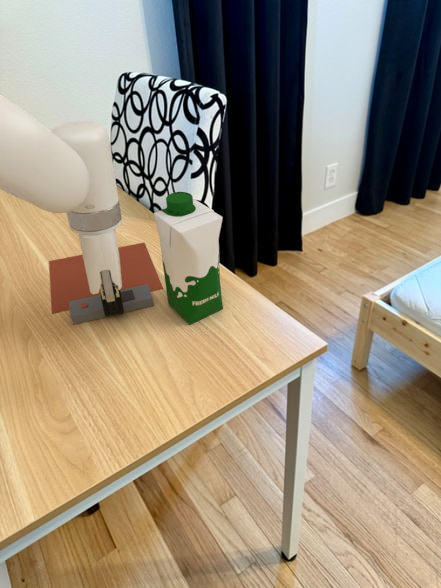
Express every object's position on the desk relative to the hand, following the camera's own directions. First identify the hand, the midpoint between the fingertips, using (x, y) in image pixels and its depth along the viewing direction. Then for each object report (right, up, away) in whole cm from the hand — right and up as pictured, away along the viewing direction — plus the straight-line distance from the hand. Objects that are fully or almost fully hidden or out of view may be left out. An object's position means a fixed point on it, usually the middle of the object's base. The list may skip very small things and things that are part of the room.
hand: (114, 312), depth 73 cm
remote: (-1, +1, +3) cm, 3 cm away
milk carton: (+14, +1, +3) cm, 14 cm away
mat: (-5, +7, +11) cm, 14 cm away
